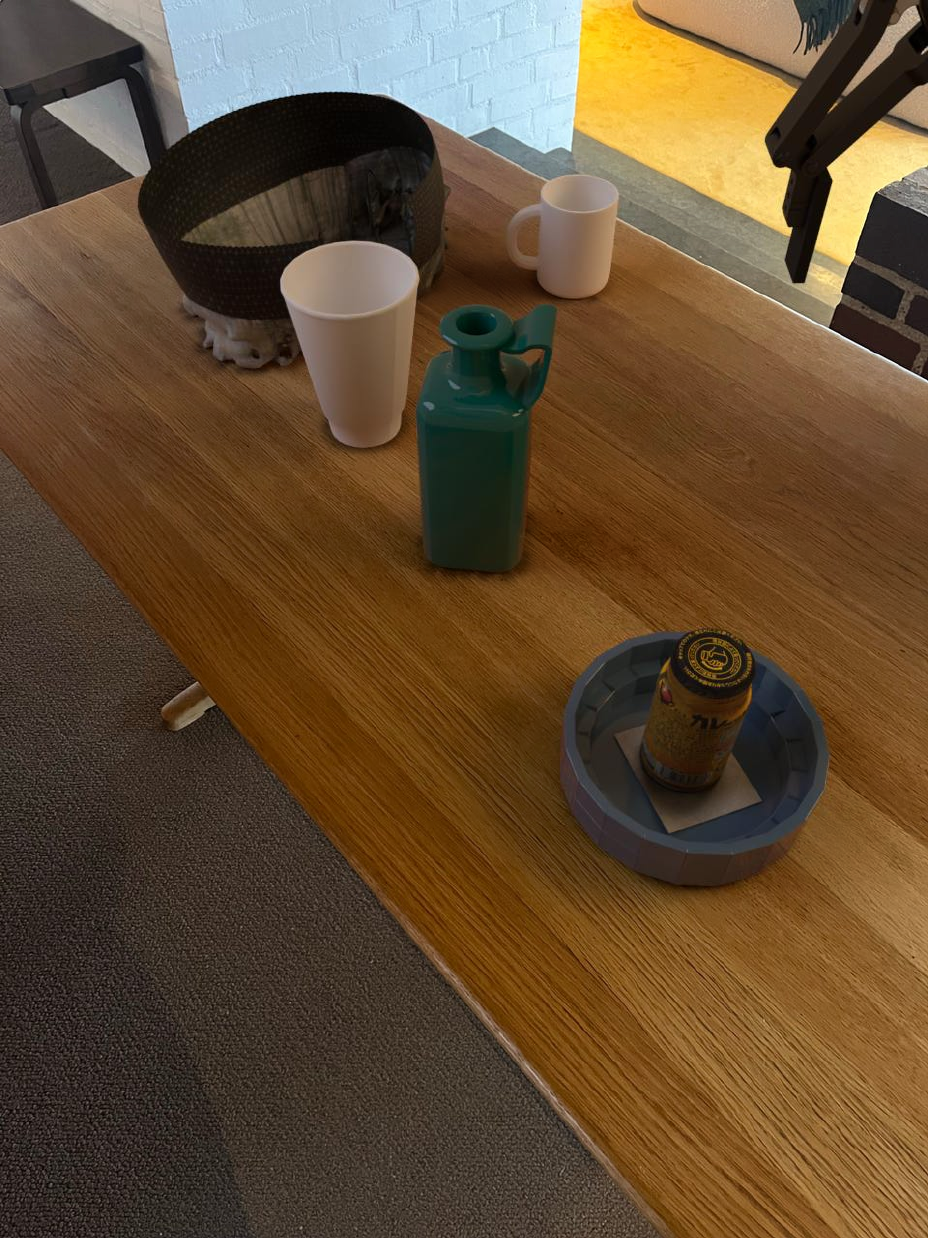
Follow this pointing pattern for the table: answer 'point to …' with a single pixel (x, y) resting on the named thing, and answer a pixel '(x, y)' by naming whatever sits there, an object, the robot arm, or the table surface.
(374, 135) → the basket
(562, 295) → the mug
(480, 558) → the pitcher
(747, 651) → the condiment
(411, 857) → the table surface
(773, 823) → the bowl
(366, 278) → the cup
